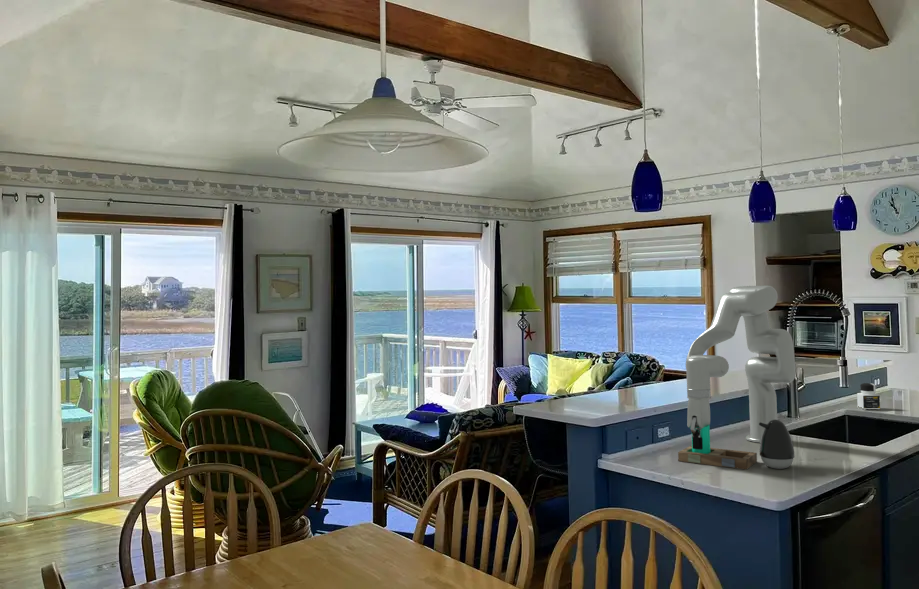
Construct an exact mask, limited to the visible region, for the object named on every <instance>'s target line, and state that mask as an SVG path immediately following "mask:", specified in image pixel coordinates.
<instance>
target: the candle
mask: <svg viewBox="0 0 919 589" xmlns="http://www.w3.org/2000/svg"><path fill="white" fill-rule="evenodd" d="M710 425H711V424H709V425H708V426H706V427H704V428H702V431H701V437H702V444H703V449H701V450H700V449H693V444H692V443H691V446H692V452H695V453H703V454H709V453H711V452H710V448H711V429H710V428H711V427H710ZM696 428H699V426H696ZM697 431H698V433H699V430H697Z"/></svg>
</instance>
